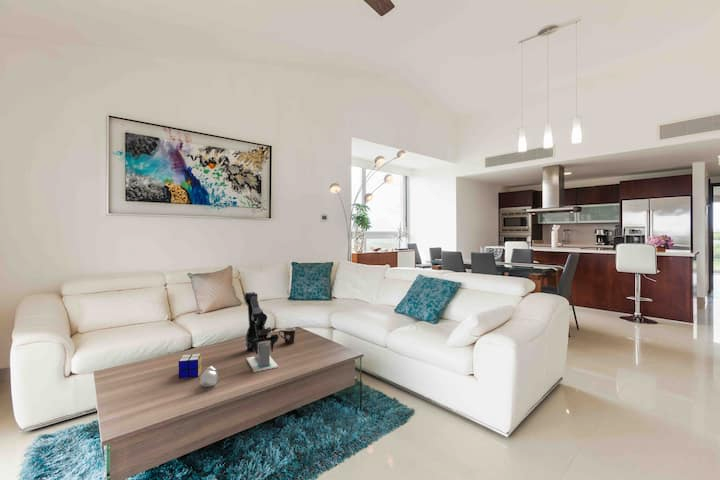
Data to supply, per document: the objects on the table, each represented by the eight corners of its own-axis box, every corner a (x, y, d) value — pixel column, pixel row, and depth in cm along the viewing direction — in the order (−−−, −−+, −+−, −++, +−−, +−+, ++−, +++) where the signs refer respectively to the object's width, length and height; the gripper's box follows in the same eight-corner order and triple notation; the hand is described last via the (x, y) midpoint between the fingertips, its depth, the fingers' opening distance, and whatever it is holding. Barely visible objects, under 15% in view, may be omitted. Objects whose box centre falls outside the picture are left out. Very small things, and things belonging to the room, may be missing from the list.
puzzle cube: (178, 379, 190) (178, 361, 190) (182, 371, 200) (182, 354, 199) (198, 377, 193) (198, 359, 192) (201, 370, 202) (201, 353, 202)
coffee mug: (297, 342, 253) (297, 328, 253) (289, 345, 246) (289, 331, 245) (286, 339, 259) (286, 326, 259) (277, 342, 252) (277, 329, 252)
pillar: (259, 364, 209) (259, 343, 208) (267, 362, 211) (267, 342, 211) (261, 367, 204) (261, 346, 204) (269, 365, 207) (269, 345, 206)
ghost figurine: (222, 384, 184) (222, 366, 184) (207, 391, 176) (206, 372, 175) (211, 380, 189) (211, 362, 188) (196, 387, 180) (195, 368, 180)
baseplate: (246, 359, 219) (246, 354, 219) (268, 355, 226) (268, 350, 226) (254, 372, 200) (254, 366, 200) (278, 367, 207) (278, 361, 207)
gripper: (246, 325, 206) (250, 349, 197) (277, 321, 215) (282, 344, 206) (244, 334, 213) (248, 358, 204) (274, 330, 222) (279, 352, 213)
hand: (264, 353), depth 206 cm, fingers open, 9 cm apart
